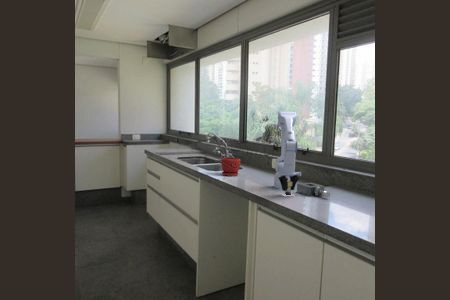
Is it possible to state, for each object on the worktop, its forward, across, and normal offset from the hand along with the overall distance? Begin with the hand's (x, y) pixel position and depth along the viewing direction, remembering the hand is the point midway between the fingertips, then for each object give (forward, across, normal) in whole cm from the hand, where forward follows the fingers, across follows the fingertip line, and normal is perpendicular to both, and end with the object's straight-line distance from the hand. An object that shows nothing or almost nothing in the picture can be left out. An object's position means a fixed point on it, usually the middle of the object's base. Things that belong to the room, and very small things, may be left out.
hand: (288, 190), depth 165 cm
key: (+2, 0, 0) cm, 2 cm away
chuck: (+3, +14, -5) cm, 15 cm away
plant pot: (+3, -1, +64) cm, 64 cm away
